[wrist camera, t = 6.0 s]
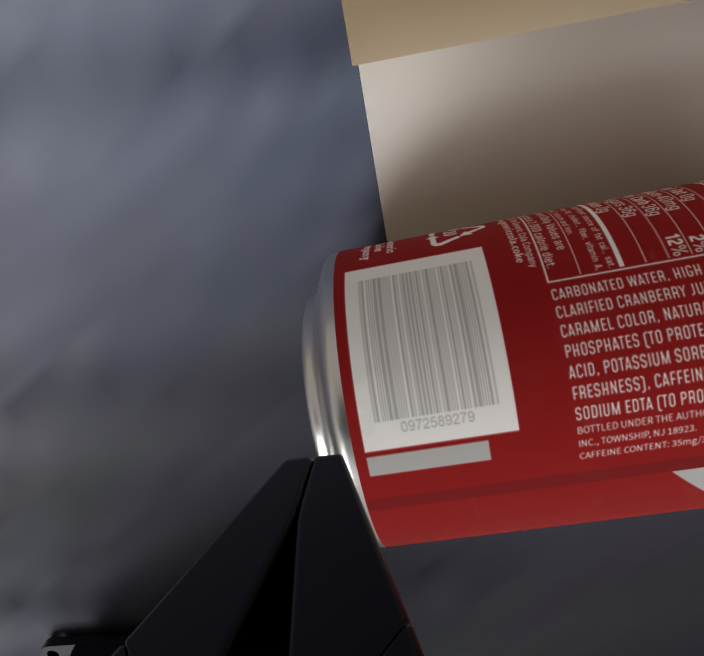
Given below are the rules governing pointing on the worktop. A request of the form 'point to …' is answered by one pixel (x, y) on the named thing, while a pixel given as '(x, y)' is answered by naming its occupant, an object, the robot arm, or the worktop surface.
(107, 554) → the worktop surface
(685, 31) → the rest
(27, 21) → the worktop surface
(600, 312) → the soda can
